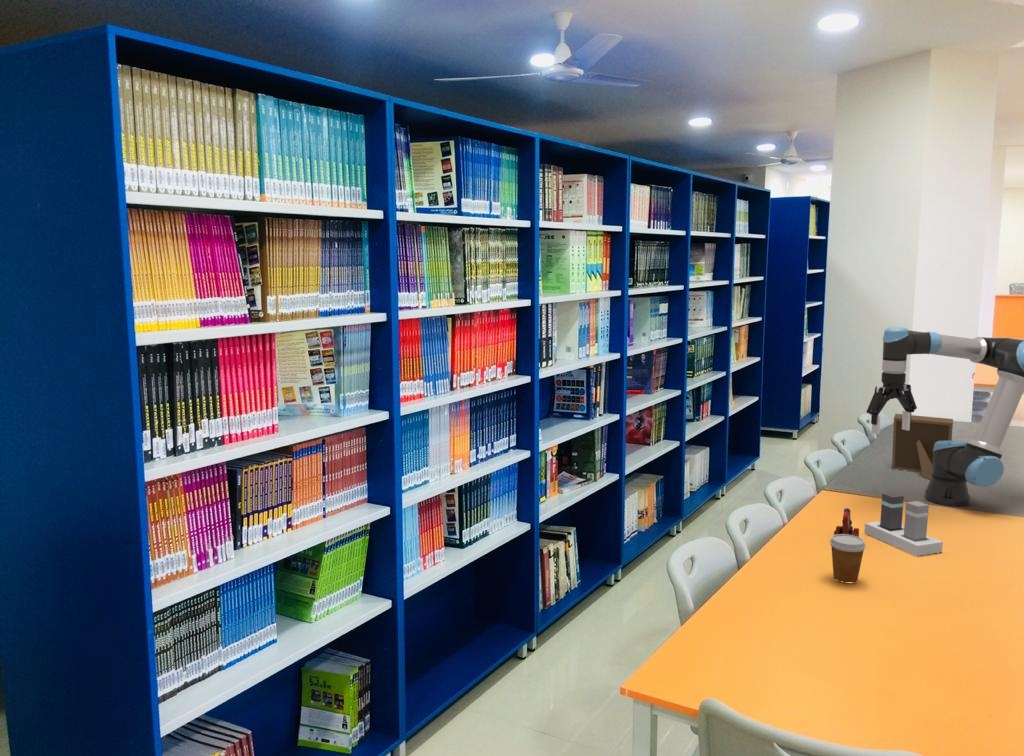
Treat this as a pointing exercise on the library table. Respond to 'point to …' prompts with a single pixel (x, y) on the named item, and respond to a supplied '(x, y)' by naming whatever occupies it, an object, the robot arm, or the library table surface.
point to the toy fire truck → (846, 525)
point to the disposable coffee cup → (846, 556)
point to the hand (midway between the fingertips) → (890, 431)
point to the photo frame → (918, 442)
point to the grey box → (891, 511)
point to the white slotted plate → (903, 540)
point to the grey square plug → (916, 521)
